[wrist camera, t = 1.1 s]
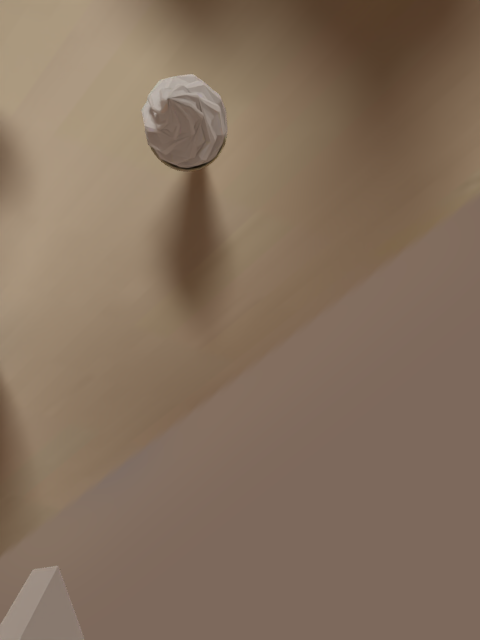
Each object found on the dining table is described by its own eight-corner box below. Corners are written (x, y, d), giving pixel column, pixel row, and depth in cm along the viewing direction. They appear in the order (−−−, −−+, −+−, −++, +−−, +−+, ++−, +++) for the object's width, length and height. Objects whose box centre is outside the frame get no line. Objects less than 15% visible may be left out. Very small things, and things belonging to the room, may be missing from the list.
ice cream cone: (244, 143, 34) (244, 96, 20) (203, 192, 35) (173, 183, 20) (196, 96, 33) (158, 10, 19) (155, 148, 34) (88, 105, 20)
